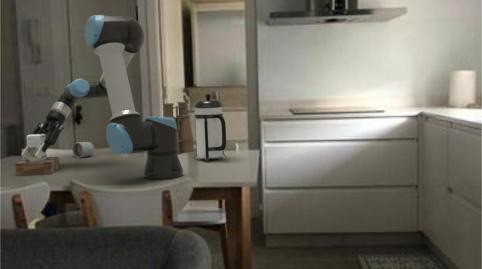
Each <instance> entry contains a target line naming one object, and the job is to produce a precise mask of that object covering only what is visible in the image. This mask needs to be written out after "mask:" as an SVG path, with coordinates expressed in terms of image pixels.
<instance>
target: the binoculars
mask: <svg viewBox="0 0 482 269" xmlns="http://www.w3.org/2000/svg"><path fill="white" fill-rule="evenodd" d="M188 103H189V102H188V101H177V105H175V106H174V104H175V103H174V102H168V103H167V102H165V103H162V105H163V107H162V109H163V117H167V118H173V119H175V121H176V127H177V154H178V155H180V154H181V153H190V152H193V151H194V139H195V138H194V137H193V131H192V126H191V119H190V116H191V115H190V114H188V108H189V106H188ZM174 109H175V116H174Z"/></svg>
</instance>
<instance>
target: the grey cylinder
mask: <svg viewBox="0 0 482 269" xmlns="http://www.w3.org/2000/svg"><path fill="white" fill-rule="evenodd" d="M94 153H95V145H94V144H93V143H92V142H90V141H77V142H75V143H74V144H73V146H72V156H73V157H75V158H76V159H81V158H86V157H87V158H88V157H91V156H93V155H94Z"/></svg>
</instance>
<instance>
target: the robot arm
mask: <svg viewBox="0 0 482 269" xmlns="http://www.w3.org/2000/svg"><path fill="white" fill-rule="evenodd" d="M84 39H85V40H84V41H85V43H86V45H87V46H88V47H92V48H93V52H94V54H95V55H97V56H99V61H100V66H101V69H102V74H101V76H100V78H99V79H98V80H90V81H89V80H85V79H84V78H76V79H74V80H73V81H72V82H71V83H68V84H66V86H65V87H64V88H63V90H62V92H61V94H60V95H59V97H58V99H56V101H55V102H54V104H53V105H52V107H51V108H50V109H49V111H48V113H47V114H46V117H45V118H46V120H45V121H44V122H43V123H41V122H38V123H37V125H36V127H35V128H34V130H33V131H32V132H31V133H30V134H45V143H42V145H41V146H40V148H39V149H38V151H37V152H36V154H35V156H36V157H37V158H38V159H41V157H42V155H43V154H44V152H45V151H46V152H47V150H48V148H49V147H51V146H54V145H55V144H56V142H57V140H58V138H59V137H60V135H61V132H62V131H63V130H64V129H65V127H64V126H63V124H64V123H65V122H66V119H67V118H68V117H69V115H70V113H71V112H72V110H73V109H74V107H75V106H76V104H77V103H78V102H79V101H81V100H86V99H87V100H88V99H100V98H101V99H102V98H103V99H104V98H107V99H108V102H109V107H110V111H111V117H110V119H109V120H108V121H109V124H108V125H107V126H106V128H105V132H106V133H105V137H106V141H107V144H108V146H109V147H110V149H111V150H112V152H114V153H115V154H117V155H130V154H133V153H141V152H146V154H147V156H146V161H145V165H144V168H143V178H146V179H147V180H167V179H168V180H169V179H174V178H179V177H182V176H183V175H184V171H183V166H182V164H181V160H180V158H179V154H177V127H176V121H175V119H173V118H167V117H164V116H150V115H149V116H145V118H144V120H142V115H141V114H140V113H139V112H137V111H136V108H135V103H134V98H133V93H132V90H131V85H130V82H129V77H128V72H127V67H128V66H129V64H130V62H131V61H132V59H133V58H134V56H135V54H137V53H139V52H140V51H141V49H142V47H143V45H144V40H145V32H144V30H143V26H142V25H141V24H140V22H139V21H138V20H136V19H135V18H133V17H131V16H129V15H106V14H105V15H104V14H94V15H91V16H90V17H88V19H87V22H86V24H85V28H84ZM26 142H27V139H26ZM24 149H25V150H24V151H23V153H22V152H21V155H20V156H21V157H22V156H24V157H25V158H27V157H28V148H27V145H26V146H25V148H24Z"/></svg>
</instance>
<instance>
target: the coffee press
mask: <svg viewBox="0 0 482 269" xmlns="http://www.w3.org/2000/svg"><path fill="white" fill-rule="evenodd" d="M223 106H224V105H223V104H222V102H221V101H220V100H219V99H213V98H211V94H210V93H206V94H205V99H200V100H197V101H195V103H194V106H193V107H194V109H195V110H194V112H195V114H194V118H195V119H194V121H195V122H194V124H195V126H194V128H195V151H196V153H195V154H196V155H195V156H194V158H193V159H194V160H195V161H197V160H198V159H204V160H205V163H210V159H218V158H221V159H222V160H223V161H225V160H227V156H226V154H225V149H226V147H227V130H226V129H227V127H226V121H225V118H224V115H223ZM223 156H224V157H223ZM196 157H197V159H196Z"/></svg>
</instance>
